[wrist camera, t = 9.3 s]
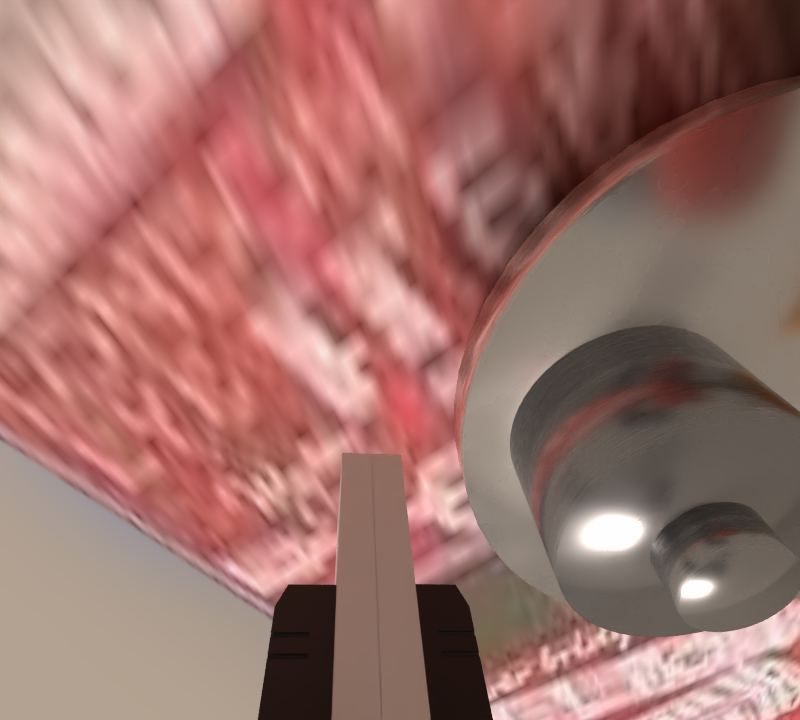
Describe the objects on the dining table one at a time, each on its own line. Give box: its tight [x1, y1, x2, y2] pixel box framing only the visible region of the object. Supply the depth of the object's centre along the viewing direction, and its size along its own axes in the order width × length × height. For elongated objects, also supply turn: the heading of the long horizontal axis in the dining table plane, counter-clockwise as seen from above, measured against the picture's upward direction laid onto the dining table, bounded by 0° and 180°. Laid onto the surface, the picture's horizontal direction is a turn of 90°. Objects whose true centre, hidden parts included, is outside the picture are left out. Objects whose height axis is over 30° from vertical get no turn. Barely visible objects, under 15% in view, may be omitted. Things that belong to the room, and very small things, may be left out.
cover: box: [510, 326, 800, 637], centre depth 16 cm, size 8×8×6 cm
